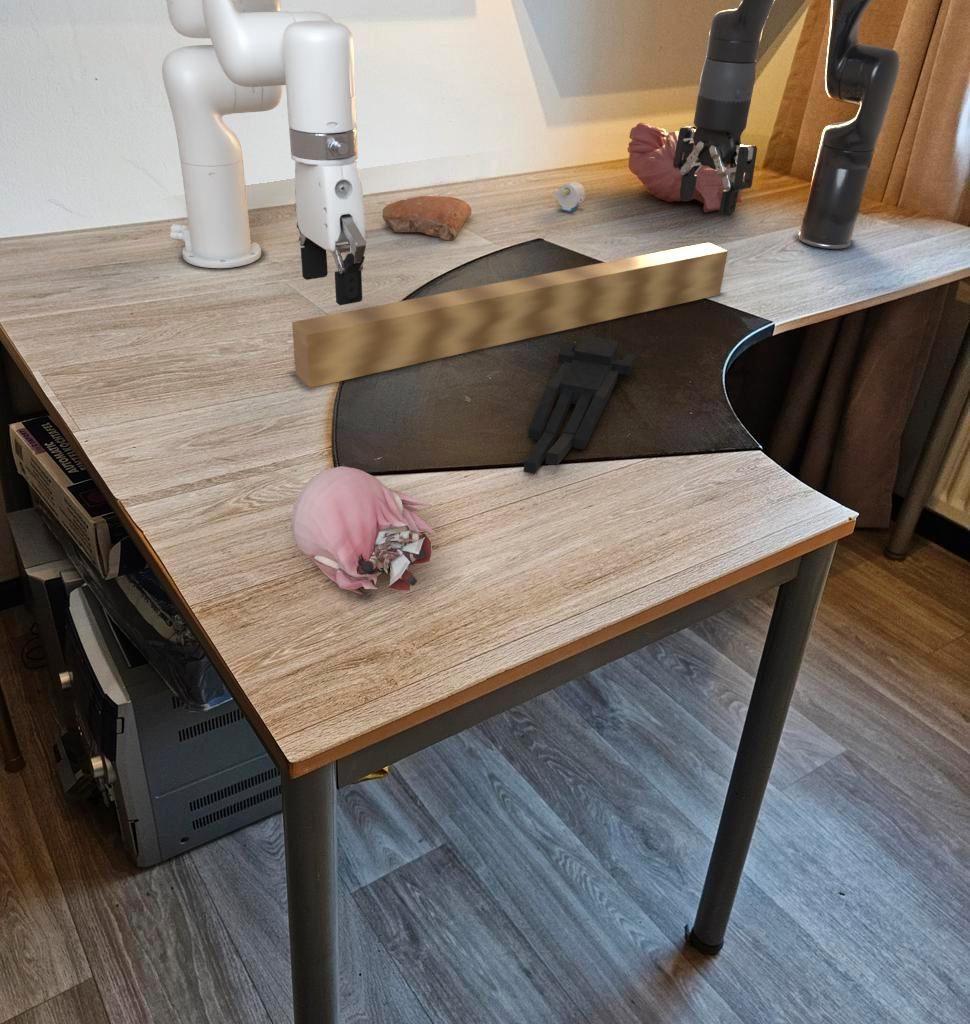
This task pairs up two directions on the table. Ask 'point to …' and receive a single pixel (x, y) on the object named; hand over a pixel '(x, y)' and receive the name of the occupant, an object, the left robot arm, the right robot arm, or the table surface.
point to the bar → (500, 313)
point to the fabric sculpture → (669, 168)
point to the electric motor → (570, 196)
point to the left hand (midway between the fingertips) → (331, 289)
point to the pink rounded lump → (359, 529)
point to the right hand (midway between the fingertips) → (705, 207)
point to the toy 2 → (575, 398)
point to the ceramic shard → (428, 215)
